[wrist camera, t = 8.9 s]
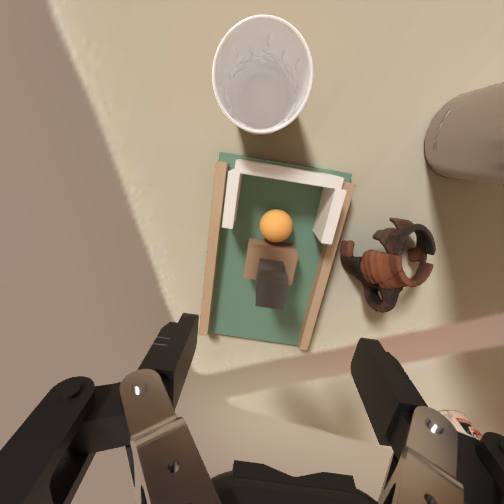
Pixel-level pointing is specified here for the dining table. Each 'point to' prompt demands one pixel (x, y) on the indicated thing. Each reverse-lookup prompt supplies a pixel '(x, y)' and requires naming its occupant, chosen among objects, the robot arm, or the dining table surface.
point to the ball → (276, 225)
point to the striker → (270, 270)
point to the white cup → (262, 74)
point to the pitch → (248, 225)
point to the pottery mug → (390, 263)
